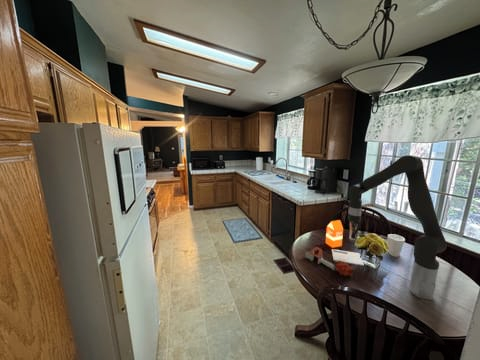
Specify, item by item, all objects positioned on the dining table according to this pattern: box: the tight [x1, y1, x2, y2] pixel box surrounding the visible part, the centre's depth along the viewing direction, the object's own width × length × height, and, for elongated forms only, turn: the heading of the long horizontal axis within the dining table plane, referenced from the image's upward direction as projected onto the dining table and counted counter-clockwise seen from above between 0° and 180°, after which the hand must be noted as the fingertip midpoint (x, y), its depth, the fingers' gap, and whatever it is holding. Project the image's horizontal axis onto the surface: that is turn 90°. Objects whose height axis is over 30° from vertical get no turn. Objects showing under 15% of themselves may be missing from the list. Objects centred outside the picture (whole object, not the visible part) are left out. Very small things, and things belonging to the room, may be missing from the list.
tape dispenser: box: [304, 246, 336, 271], centre depth 134 cm, size 18×5×20 cm
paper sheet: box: [331, 248, 365, 267], centre depth 137 cm, size 14×18×1 cm
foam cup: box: [387, 233, 406, 258], centre depth 139 cm, size 10×9×13 cm
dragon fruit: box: [334, 261, 356, 277], centre depth 120 cm, size 8×8×12 cm
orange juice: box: [325, 219, 344, 249], centre depth 152 cm, size 8×9×20 cm
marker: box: [348, 223, 357, 243], centre depth 135 cm, size 4×4×12 cm
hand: (352, 236), depth 136 cm, fingers closed on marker, 3 cm apart
